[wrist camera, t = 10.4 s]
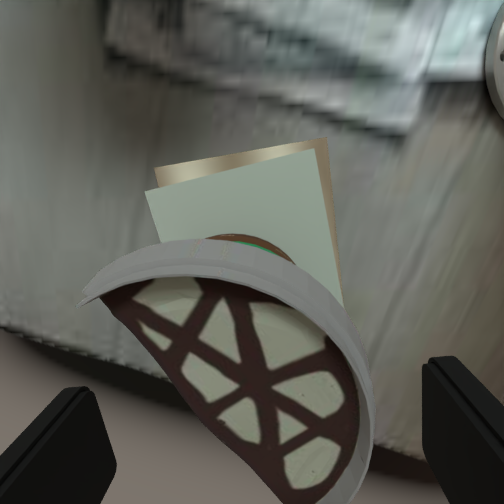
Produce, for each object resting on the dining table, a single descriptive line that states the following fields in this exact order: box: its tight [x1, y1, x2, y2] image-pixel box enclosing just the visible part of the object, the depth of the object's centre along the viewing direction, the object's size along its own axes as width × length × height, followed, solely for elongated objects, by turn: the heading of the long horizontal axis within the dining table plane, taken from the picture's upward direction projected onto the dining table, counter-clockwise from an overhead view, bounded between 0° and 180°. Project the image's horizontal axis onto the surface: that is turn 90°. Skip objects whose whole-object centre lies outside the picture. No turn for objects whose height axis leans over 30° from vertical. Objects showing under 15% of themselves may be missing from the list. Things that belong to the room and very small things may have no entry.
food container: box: [75, 233, 376, 504], centre depth 14 cm, size 12×6×10 cm, turn 36°
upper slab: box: [144, 148, 344, 308], centre depth 21 cm, size 10×14×4 cm
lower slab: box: [154, 137, 344, 305], centre depth 25 cm, size 12×16×4 cm
